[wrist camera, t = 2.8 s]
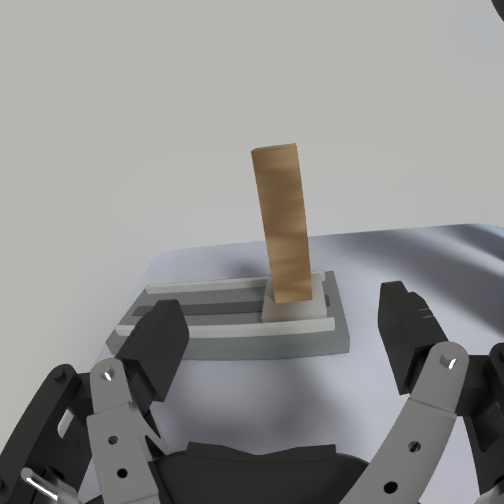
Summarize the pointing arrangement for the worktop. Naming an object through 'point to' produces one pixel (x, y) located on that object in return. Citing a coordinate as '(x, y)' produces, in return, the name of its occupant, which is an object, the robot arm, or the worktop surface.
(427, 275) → the worktop surface
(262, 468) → the robot arm
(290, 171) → the fader tab
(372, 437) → the worktop surface
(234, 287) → the grey slider track base
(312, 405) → the worktop surface
